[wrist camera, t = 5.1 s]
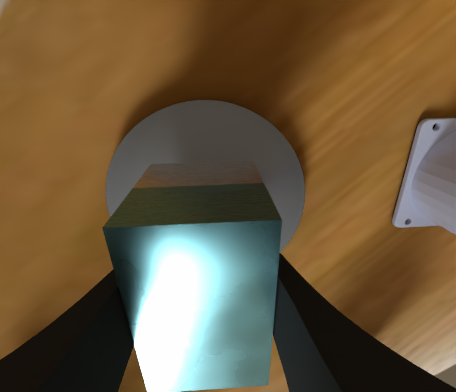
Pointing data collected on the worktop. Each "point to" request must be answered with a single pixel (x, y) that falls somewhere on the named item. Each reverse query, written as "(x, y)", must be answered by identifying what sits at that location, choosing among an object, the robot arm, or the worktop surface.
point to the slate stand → (211, 152)
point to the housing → (198, 274)
